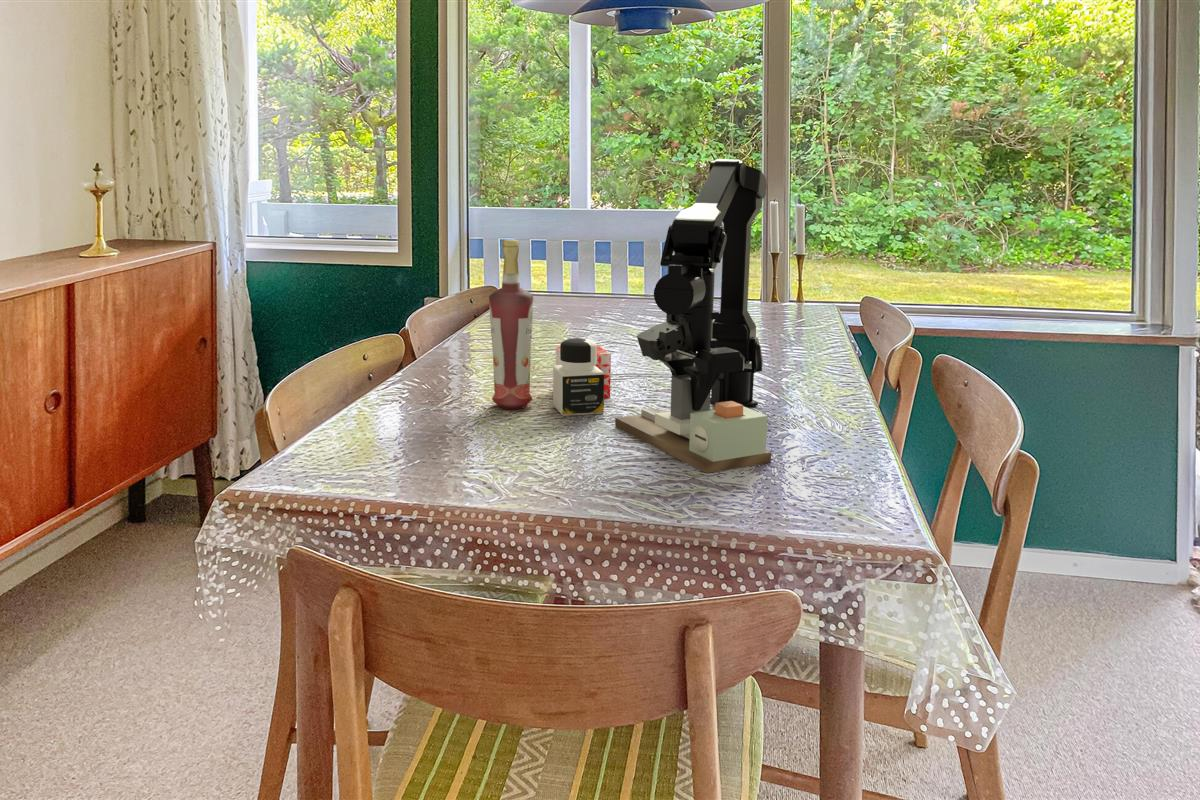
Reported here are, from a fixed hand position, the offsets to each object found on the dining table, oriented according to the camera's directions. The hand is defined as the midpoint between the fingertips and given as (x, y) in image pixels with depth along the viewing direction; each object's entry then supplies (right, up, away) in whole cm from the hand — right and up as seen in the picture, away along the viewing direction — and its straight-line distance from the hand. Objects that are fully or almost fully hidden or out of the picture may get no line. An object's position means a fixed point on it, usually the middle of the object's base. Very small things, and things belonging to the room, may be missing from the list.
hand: (690, 407), depth 157 cm
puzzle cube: (-17, +2, +31) cm, 36 cm away
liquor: (-28, 0, +22) cm, 36 cm away
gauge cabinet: (+4, -6, -8) cm, 11 cm away
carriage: (0, -3, +1) cm, 3 cm away
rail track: (0, -5, +1) cm, 6 cm away
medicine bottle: (-17, -1, +20) cm, 26 cm away
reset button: (+5, -3, -8) cm, 10 cm away
